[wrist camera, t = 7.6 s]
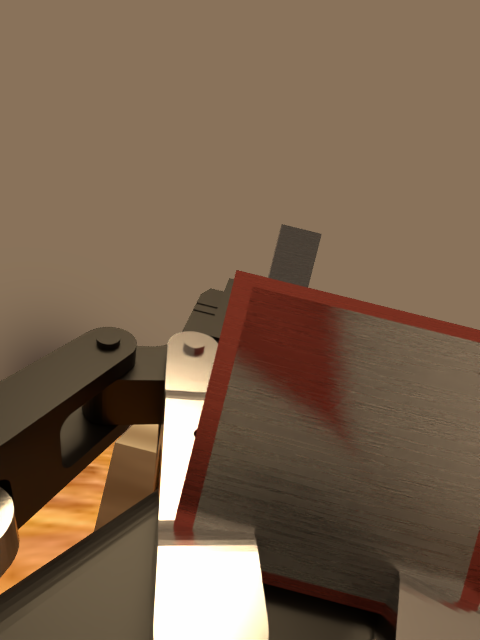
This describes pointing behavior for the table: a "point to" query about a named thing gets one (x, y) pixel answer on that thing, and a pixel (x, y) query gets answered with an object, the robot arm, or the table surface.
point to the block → (340, 438)
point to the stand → (129, 472)
